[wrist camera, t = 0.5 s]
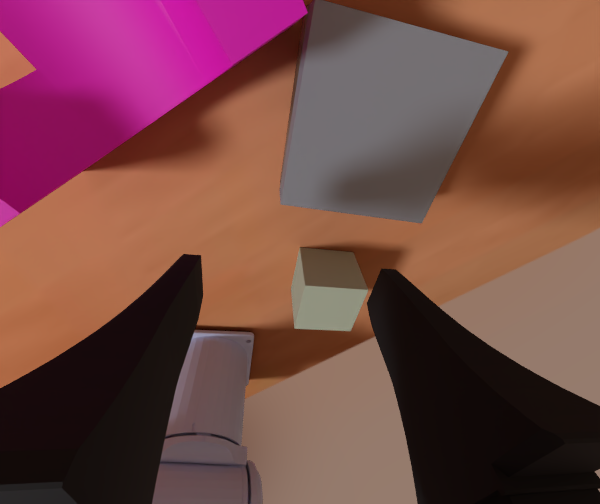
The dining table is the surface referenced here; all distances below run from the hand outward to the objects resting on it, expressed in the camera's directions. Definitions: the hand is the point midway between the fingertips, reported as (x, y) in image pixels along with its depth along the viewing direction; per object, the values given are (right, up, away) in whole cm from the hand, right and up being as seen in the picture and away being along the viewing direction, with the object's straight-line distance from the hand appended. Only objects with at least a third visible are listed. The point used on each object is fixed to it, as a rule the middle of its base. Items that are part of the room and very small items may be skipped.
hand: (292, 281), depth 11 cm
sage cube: (+2, 0, +13) cm, 13 cm away
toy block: (-8, +12, +3) cm, 15 cm away
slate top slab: (+4, +8, +5) cm, 10 cm away
